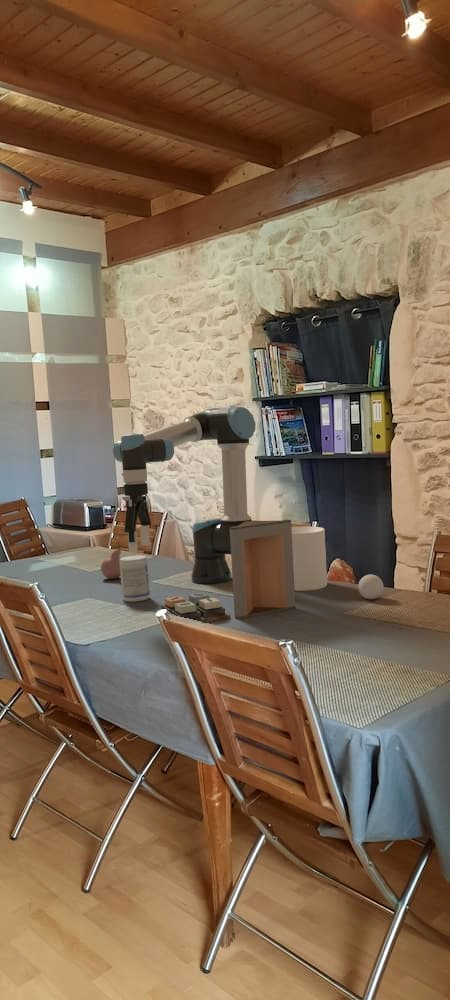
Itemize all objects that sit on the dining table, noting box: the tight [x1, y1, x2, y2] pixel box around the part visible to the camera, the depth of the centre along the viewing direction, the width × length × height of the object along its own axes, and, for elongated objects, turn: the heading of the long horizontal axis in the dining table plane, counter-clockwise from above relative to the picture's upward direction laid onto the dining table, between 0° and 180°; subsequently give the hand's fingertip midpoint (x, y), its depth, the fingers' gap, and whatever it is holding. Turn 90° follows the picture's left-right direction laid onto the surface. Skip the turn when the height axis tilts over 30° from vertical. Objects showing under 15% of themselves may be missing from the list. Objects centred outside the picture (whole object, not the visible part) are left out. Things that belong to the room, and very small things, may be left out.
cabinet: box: [230, 519, 296, 620], centre depth 237 cm, size 21×10×28 cm, turn 117°
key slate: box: [188, 592, 210, 604], centre depth 241 cm, size 5×5×2 cm
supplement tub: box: [120, 555, 151, 603], centre depth 263 cm, size 10×10×15 cm
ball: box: [357, 573, 384, 600], centre depth 244 cm, size 8×8×8 cm
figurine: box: [100, 548, 122, 580], centre depth 302 cm, size 9×11×12 cm
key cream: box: [199, 597, 222, 610], centre depth 233 cm, size 5×5×2 cm
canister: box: [291, 526, 328, 592], centre depth 269 cm, size 16×16×20 cm
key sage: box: [175, 602, 196, 614], centre depth 230 cm, size 5×5×2 cm
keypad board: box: [161, 600, 231, 624], centre depth 236 cm, size 17×19×3 cm
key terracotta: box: [164, 595, 186, 608], centre depth 238 cm, size 5×5×2 cm
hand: (139, 548), depth 243 cm, fingers open, 13 cm apart
